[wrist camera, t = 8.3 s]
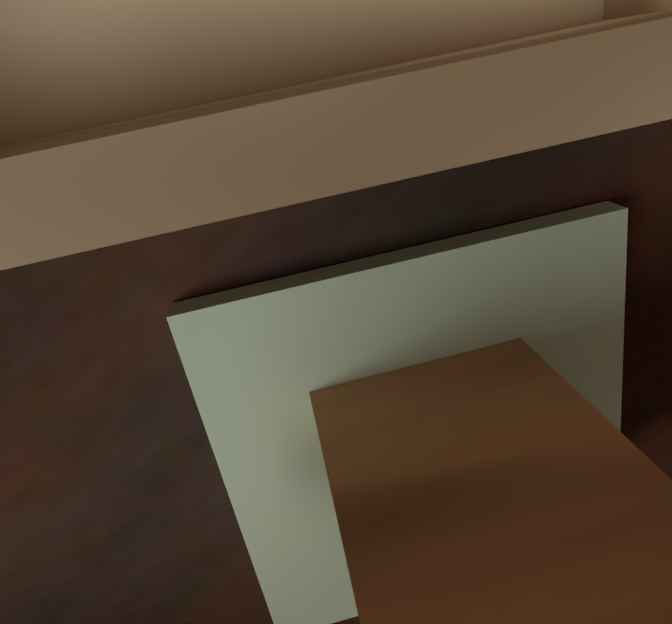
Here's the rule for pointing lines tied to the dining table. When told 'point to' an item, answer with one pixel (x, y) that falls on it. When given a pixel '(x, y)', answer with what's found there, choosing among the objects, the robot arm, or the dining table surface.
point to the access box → (292, 102)
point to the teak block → (492, 497)
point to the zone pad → (384, 366)
